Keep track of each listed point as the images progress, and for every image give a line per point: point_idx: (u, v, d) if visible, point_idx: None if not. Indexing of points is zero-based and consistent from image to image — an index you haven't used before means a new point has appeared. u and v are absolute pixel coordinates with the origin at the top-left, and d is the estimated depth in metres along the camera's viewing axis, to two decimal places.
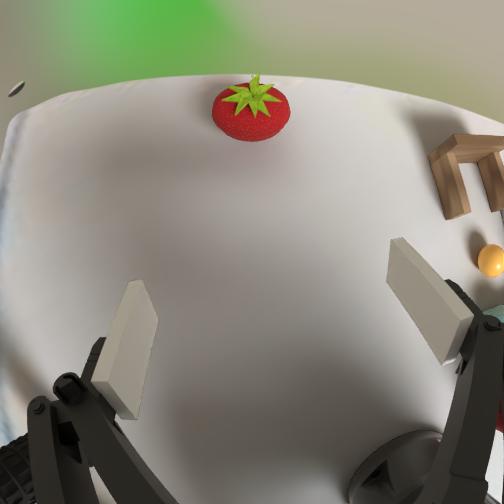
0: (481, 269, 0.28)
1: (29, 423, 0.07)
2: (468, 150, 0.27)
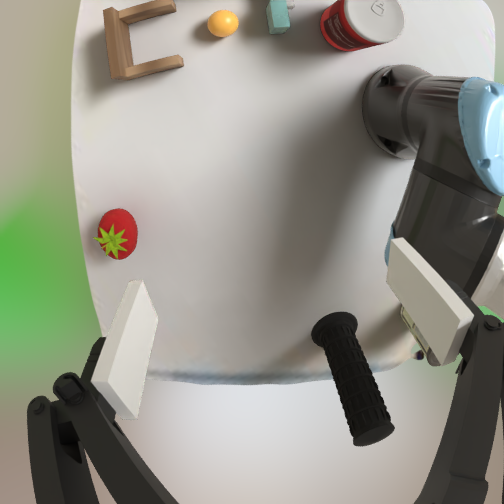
0: None
1: (29, 423, 0.07)
2: (121, 53, 0.29)
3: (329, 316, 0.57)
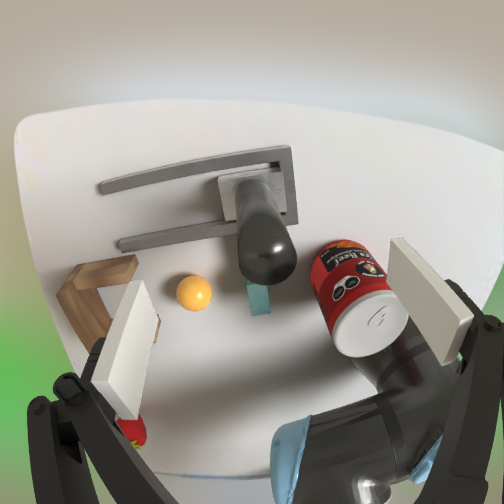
0: None
1: (29, 423, 0.07)
2: (94, 330, 0.32)
3: None
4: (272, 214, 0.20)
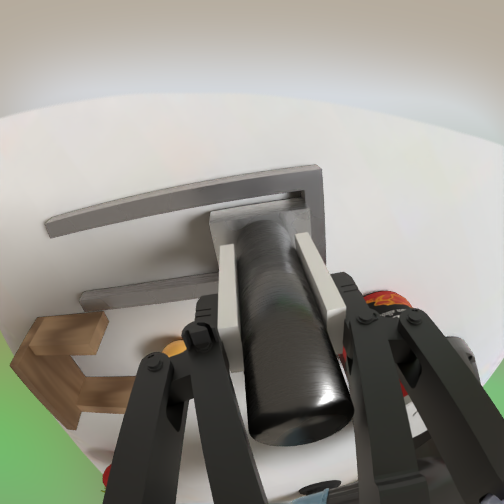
0: None
1: (137, 377, 0.10)
2: (63, 397, 0.23)
3: (315, 485, 0.51)
4: (307, 317, 0.11)
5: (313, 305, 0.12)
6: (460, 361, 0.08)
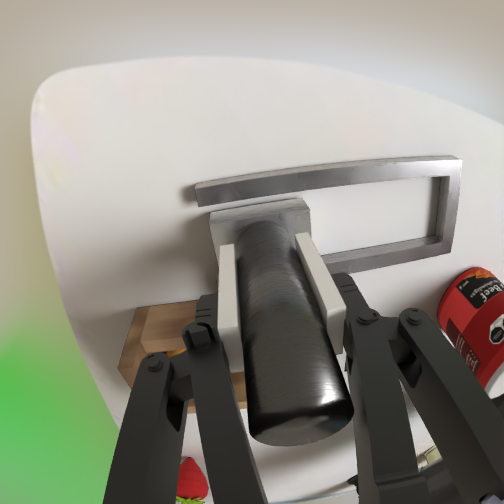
0: None
1: (137, 377, 0.10)
2: None
3: None
4: (307, 318, 0.11)
5: (313, 305, 0.12)
6: (460, 361, 0.08)
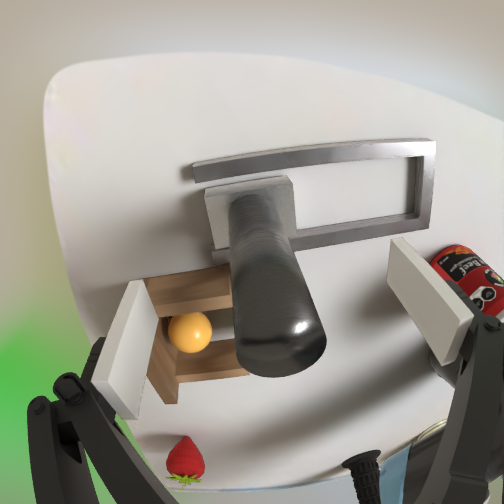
0: None
1: (29, 423, 0.07)
2: (167, 367, 0.25)
3: (359, 455, 0.54)
4: (285, 263, 0.13)
5: (292, 256, 0.14)
6: None
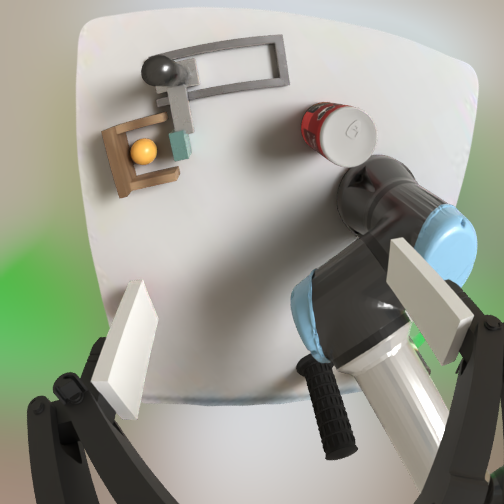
0: None
1: (29, 423, 0.07)
2: (124, 170, 0.40)
3: (310, 355, 0.69)
4: None
5: None
6: None
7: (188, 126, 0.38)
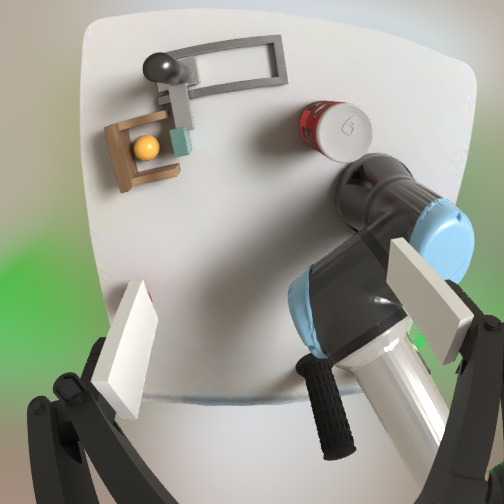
0: None
1: (29, 422, 0.07)
2: (126, 166, 0.41)
3: (310, 354, 0.69)
4: None
5: None
6: None
7: (188, 123, 0.39)
